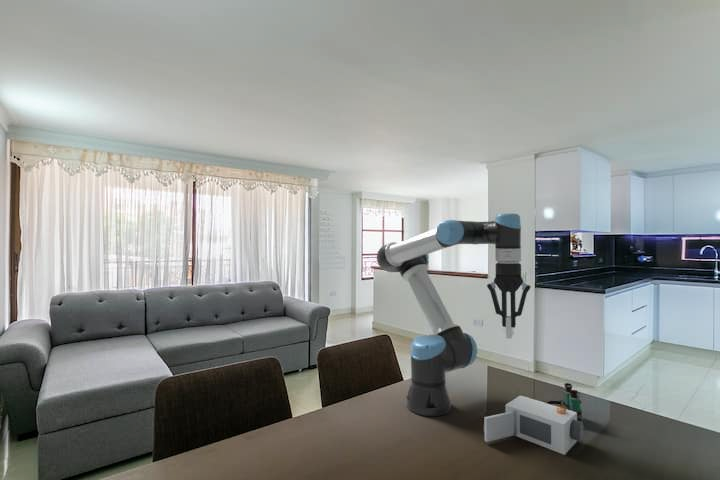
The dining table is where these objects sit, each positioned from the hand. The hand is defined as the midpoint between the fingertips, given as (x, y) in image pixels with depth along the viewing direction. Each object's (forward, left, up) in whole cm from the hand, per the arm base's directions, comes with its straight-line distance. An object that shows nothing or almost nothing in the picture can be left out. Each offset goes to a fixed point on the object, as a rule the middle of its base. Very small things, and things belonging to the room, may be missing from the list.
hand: (509, 337), depth 114 cm
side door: (+3, -12, -26) cm, 29 cm away
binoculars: (+11, +14, -27) cm, 32 cm away
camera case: (+10, -2, -26) cm, 28 cm away
